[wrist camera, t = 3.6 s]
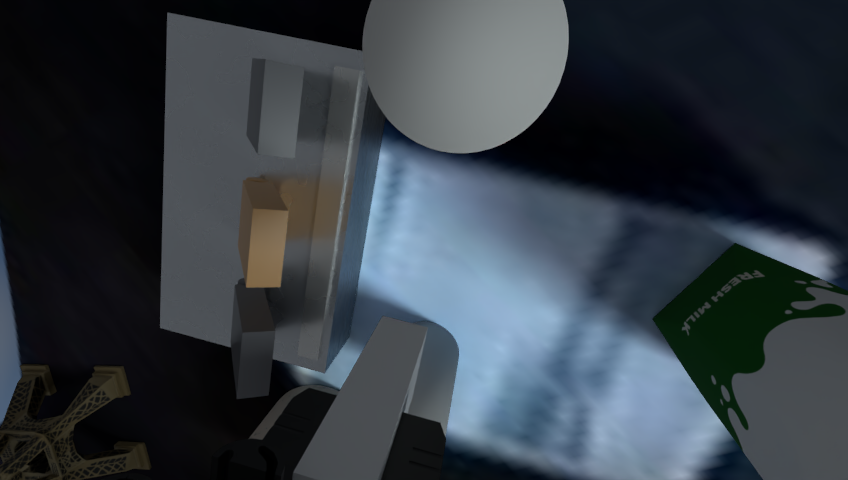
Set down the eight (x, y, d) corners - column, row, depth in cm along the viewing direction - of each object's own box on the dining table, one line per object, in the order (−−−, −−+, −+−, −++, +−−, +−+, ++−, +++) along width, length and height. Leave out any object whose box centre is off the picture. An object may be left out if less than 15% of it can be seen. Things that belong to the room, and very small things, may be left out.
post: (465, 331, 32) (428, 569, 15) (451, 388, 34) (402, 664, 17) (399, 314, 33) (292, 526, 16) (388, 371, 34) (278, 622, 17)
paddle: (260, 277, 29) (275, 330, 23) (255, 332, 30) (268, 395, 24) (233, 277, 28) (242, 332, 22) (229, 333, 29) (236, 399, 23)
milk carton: (731, 398, 31) (1111, 860, 12) (629, 318, 30) (850, 658, 11) (843, 309, 28) (1578, 720, 9) (733, 220, 28) (1254, 450, 9)
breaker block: (394, 63, 28) (371, 52, 23) (348, 337, 34) (322, 375, 29) (220, 29, 30) (163, 11, 25) (205, 299, 35) (156, 329, 30)
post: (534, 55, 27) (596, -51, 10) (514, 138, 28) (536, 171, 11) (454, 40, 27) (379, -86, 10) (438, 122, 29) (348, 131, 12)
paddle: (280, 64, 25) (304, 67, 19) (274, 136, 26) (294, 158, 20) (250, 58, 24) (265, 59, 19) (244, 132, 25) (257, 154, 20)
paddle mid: (270, 178, 27) (288, 210, 21) (264, 241, 28) (280, 287, 22) (241, 175, 26) (253, 208, 20) (236, 240, 27) (246, 287, 22)
